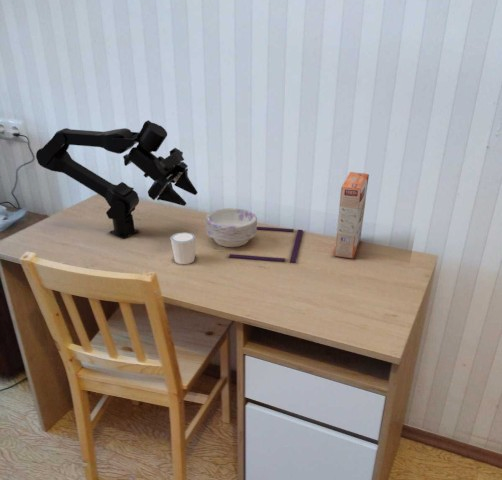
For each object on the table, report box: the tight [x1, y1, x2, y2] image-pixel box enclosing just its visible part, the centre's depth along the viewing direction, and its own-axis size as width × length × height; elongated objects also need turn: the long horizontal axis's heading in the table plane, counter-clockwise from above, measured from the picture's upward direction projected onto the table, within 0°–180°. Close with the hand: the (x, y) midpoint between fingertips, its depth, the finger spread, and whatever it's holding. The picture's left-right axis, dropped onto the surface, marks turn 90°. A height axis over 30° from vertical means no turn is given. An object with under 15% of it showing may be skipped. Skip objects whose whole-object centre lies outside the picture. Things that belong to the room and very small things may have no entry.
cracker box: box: [333, 171, 370, 259], centre depth 152 cm, size 14×6×21 cm, turn 161°
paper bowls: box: [205, 207, 258, 248], centre depth 160 cm, size 15×15×8 cm
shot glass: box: [170, 232, 196, 265], centre depth 150 cm, size 7×7×7 cm
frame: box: [228, 226, 304, 264], centre depth 160 cm, size 19×22×1 cm
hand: (191, 199), depth 155 cm, fingers open, 9 cm apart
